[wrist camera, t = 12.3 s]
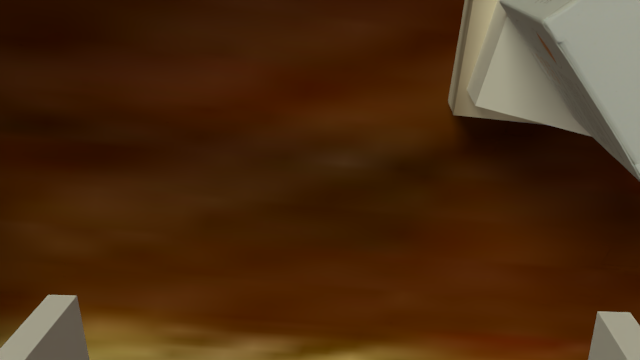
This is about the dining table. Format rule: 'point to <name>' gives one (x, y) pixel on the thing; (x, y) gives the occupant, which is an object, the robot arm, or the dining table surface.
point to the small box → (590, 64)
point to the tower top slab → (515, 78)
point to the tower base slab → (472, 61)
